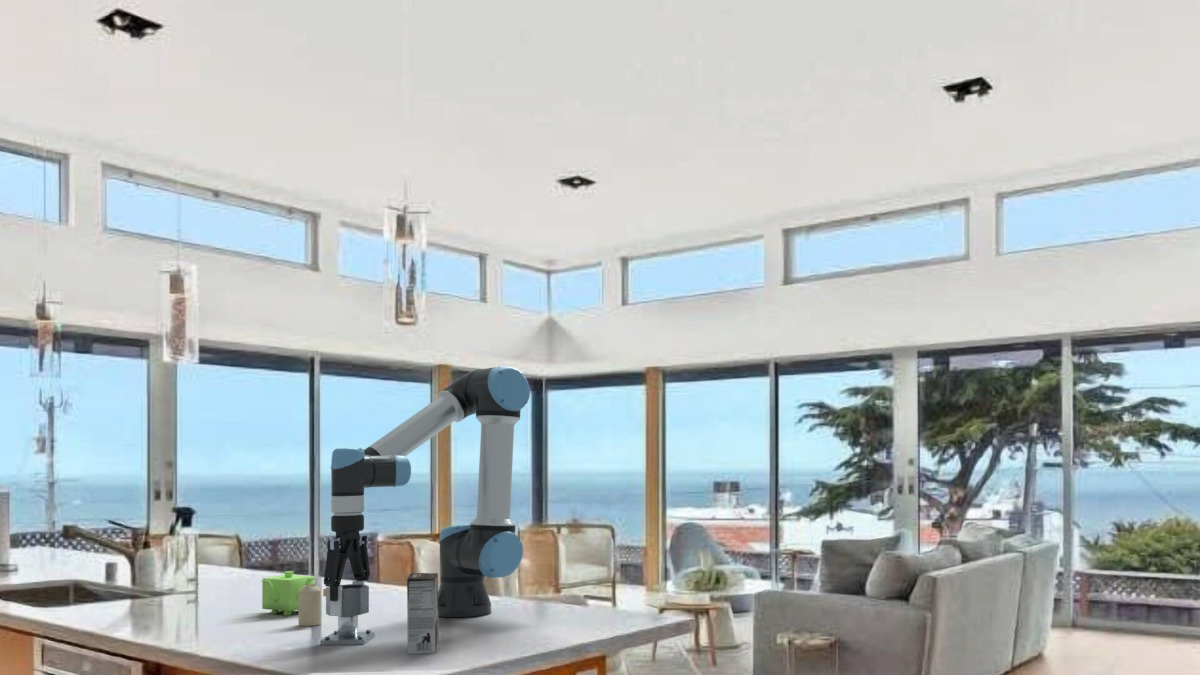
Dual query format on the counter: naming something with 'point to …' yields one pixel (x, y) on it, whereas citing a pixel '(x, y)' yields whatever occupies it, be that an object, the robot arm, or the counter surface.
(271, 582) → the kettle
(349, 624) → the bolted post base
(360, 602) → the collar
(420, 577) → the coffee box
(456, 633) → the counter surface
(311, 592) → the candle
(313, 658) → the counter surface
